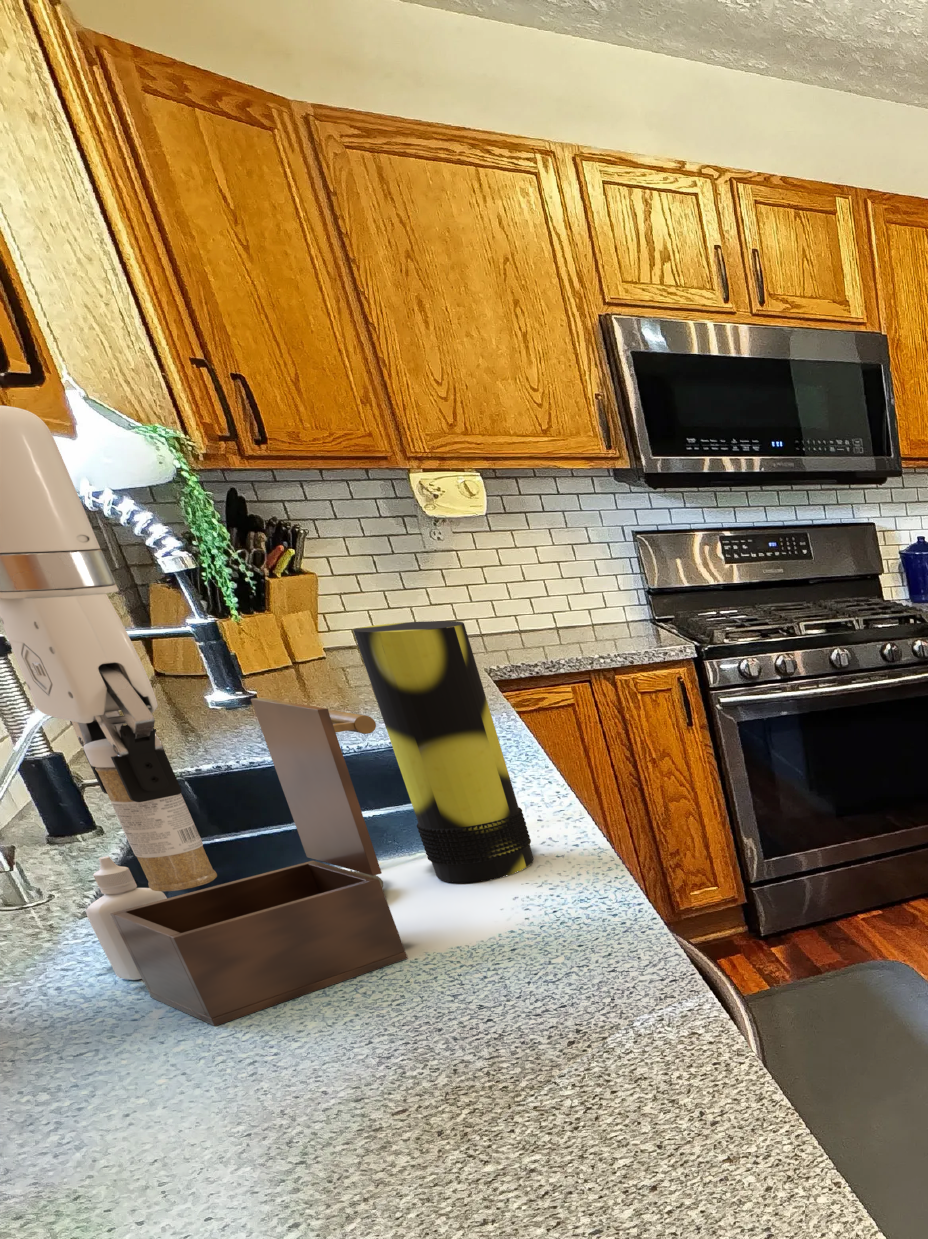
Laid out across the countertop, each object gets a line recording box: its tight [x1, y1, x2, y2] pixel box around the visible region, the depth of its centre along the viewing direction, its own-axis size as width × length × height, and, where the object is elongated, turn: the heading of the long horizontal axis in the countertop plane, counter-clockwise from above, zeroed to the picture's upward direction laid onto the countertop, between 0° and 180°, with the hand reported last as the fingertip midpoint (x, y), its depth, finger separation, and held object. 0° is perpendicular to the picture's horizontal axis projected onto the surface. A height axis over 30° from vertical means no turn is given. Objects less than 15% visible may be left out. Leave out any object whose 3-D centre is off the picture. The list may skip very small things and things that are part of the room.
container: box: [352, 620, 535, 884], centre depth 120 cm, size 11×11×30 cm
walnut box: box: [110, 860, 409, 1027], centre depth 96 cm, size 16×13×9 cm
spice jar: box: [82, 739, 218, 892], centre depth 88 cm, size 5×5×13 cm
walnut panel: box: [250, 697, 382, 876], centre depth 100 cm, size 16×13×6 cm
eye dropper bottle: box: [85, 855, 168, 981], centre depth 97 cm, size 4×6×12 cm
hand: (142, 792), depth 87 cm, fingers closed on spice jar, 4 cm apart
